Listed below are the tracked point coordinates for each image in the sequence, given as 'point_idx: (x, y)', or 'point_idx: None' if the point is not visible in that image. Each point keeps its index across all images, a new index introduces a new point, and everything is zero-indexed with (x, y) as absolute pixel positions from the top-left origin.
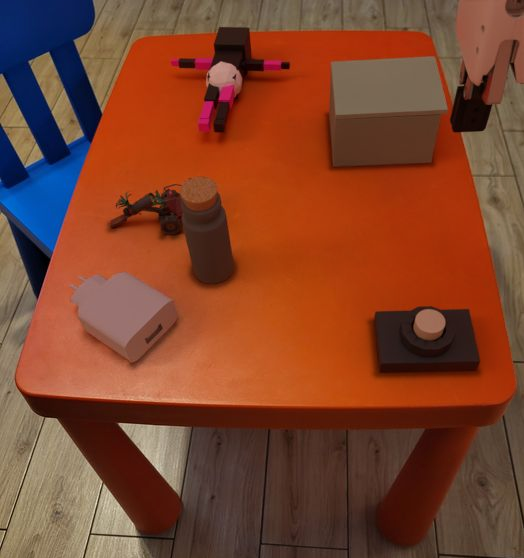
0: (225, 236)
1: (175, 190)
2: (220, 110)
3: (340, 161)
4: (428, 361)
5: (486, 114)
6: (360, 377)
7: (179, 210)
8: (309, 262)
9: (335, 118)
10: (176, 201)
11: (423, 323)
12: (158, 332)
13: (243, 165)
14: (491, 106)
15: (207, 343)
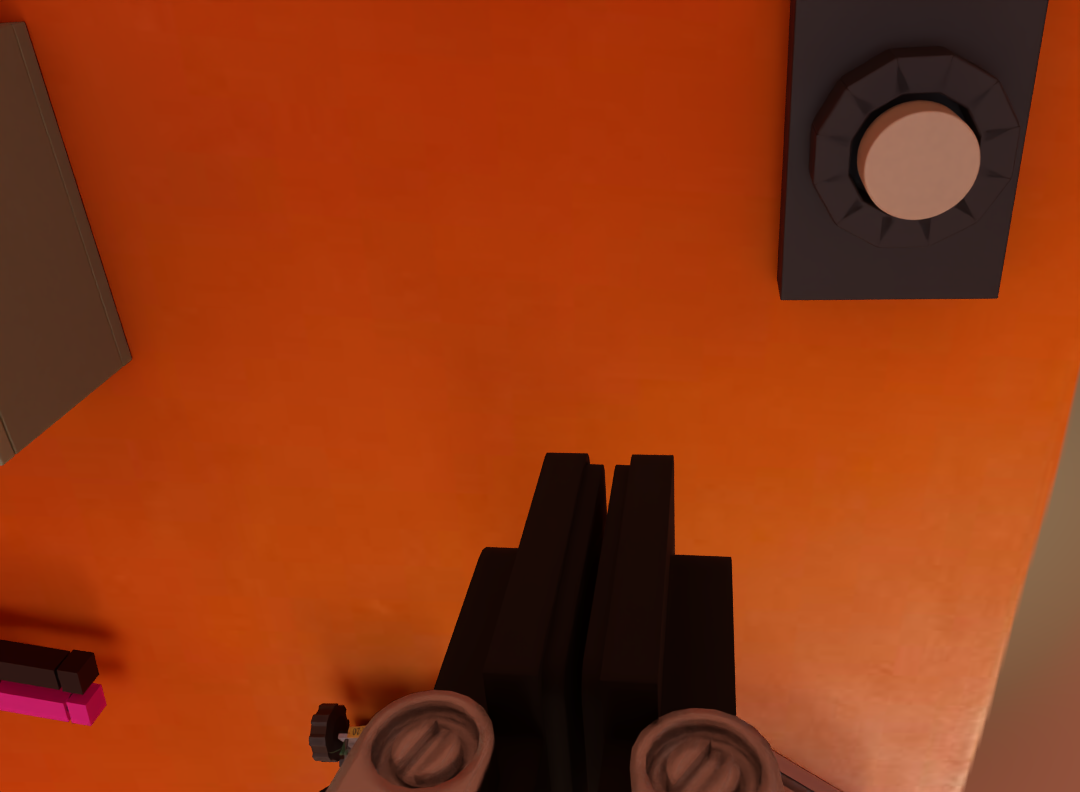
0: None
1: (340, 760)
2: (22, 677)
3: (114, 347)
4: (1019, 145)
5: (667, 559)
6: (990, 331)
7: None
8: (539, 443)
9: (12, 456)
10: None
11: (929, 193)
12: None
13: (186, 587)
14: (660, 591)
15: (815, 675)
